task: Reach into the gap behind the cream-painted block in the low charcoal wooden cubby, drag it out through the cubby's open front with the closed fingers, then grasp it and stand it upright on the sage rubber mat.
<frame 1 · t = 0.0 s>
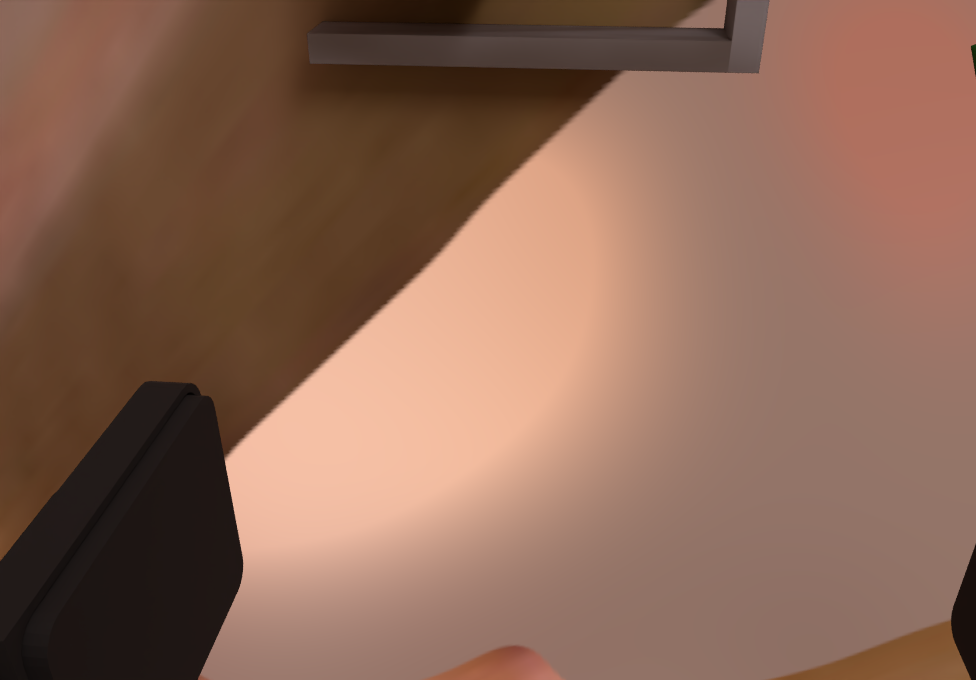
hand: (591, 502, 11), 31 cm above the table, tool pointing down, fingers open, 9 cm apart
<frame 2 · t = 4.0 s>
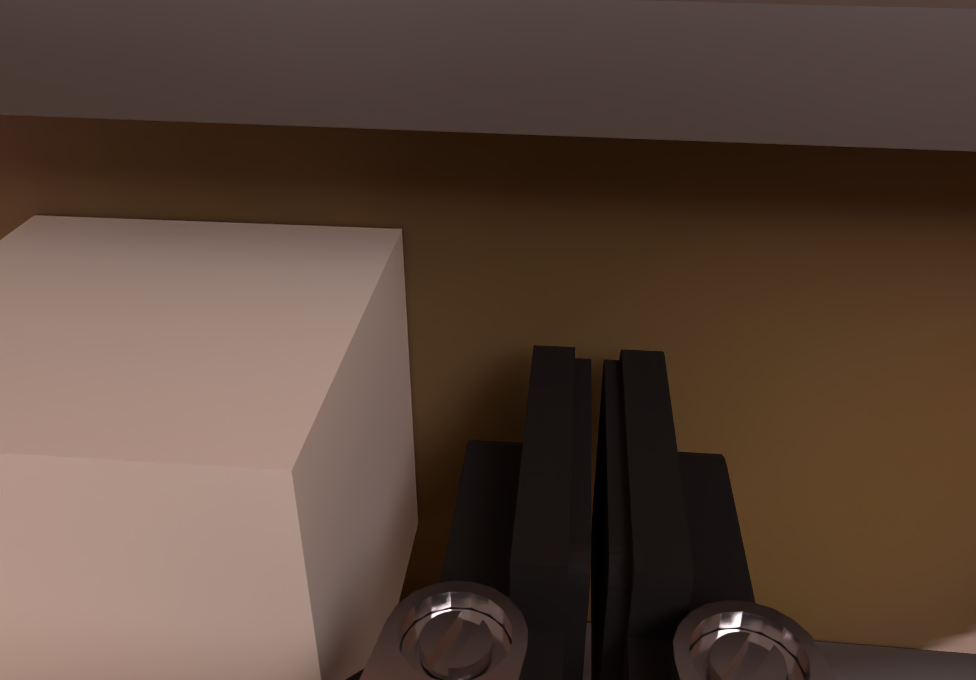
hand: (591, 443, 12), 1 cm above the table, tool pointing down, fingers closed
blank block: (241, 381, 13), on the table, touching gripper
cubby: (468, 388, 13), on the table
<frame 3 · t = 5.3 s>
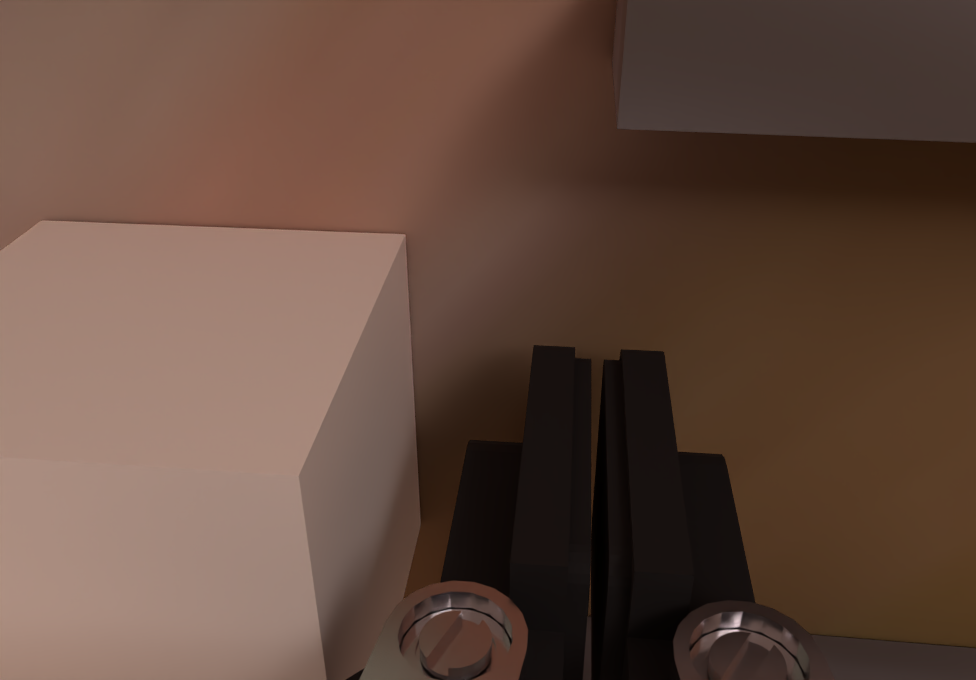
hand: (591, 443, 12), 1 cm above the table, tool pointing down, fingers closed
blank block: (246, 384, 13), on the table, touching gripper
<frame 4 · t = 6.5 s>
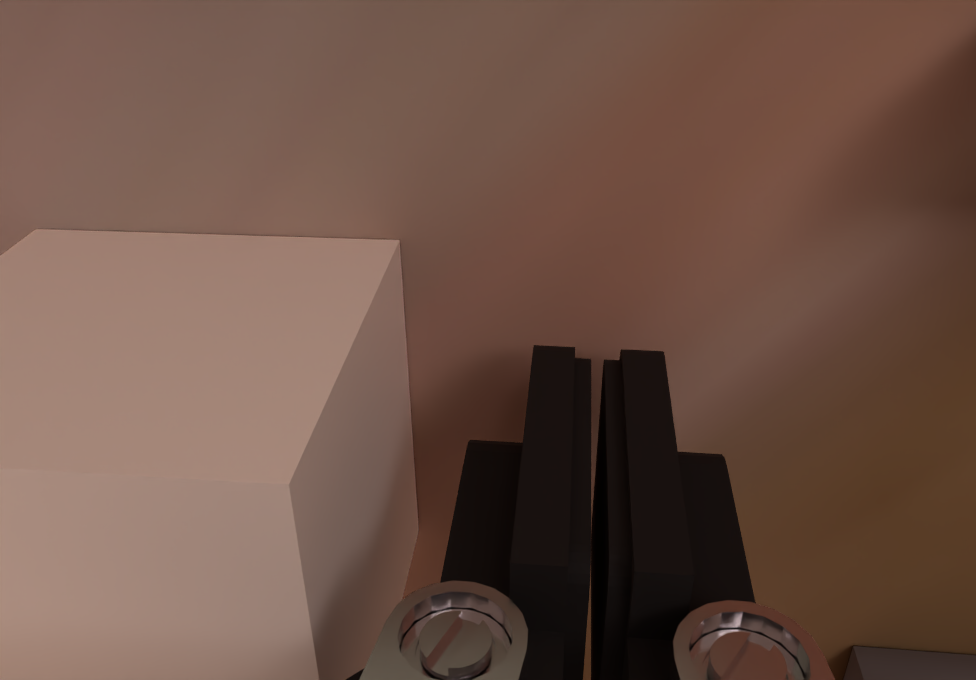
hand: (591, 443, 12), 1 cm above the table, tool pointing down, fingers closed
blank block: (242, 391, 13), on the table, touching gripper
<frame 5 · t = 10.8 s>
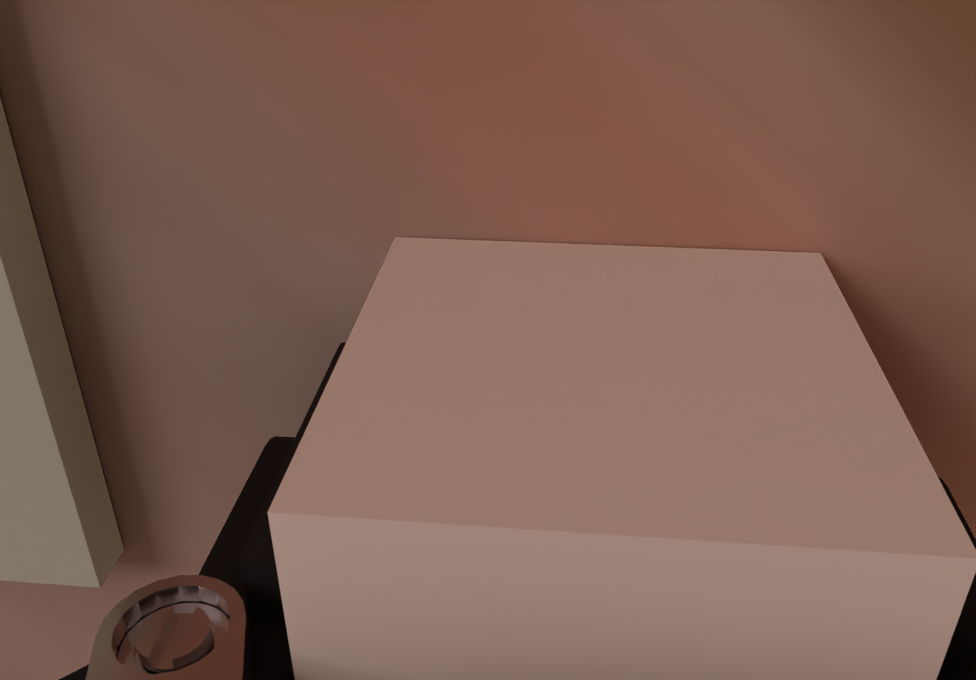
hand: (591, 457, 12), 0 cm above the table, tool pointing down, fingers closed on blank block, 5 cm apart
blank block: (592, 418, 12), on the table, touching gripper
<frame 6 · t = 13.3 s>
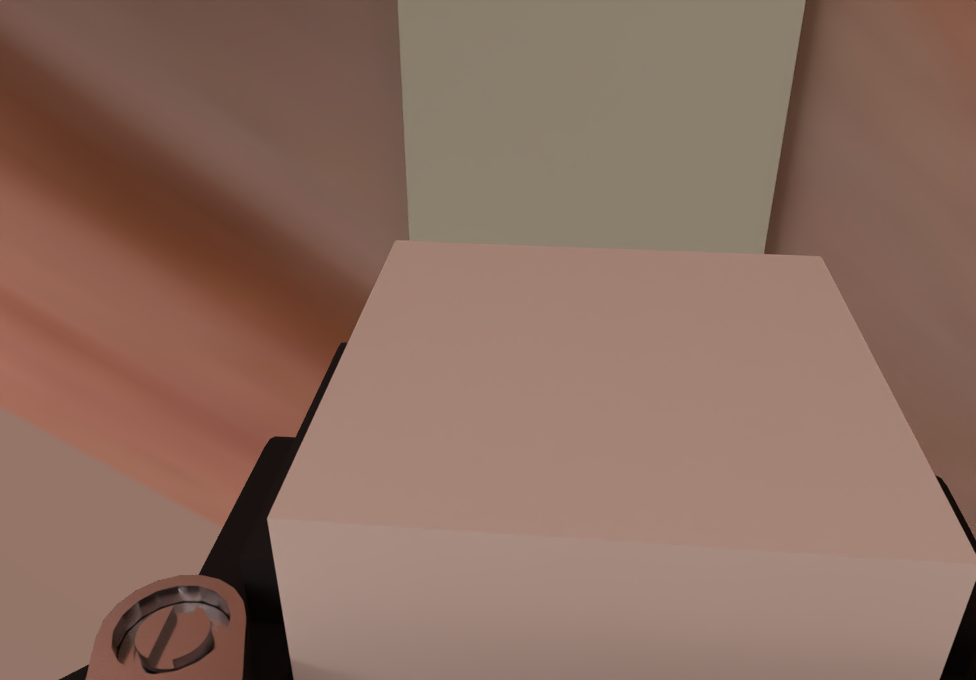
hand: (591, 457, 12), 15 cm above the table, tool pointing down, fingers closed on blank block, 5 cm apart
blank block: (592, 421, 12), point 15 cm above the table, touching gripper
mat: (590, 119, 25), on the table
when the fingers open (2 cm above the table, at t = 15.9 s): blank block drops 1 cm, resting on mat.
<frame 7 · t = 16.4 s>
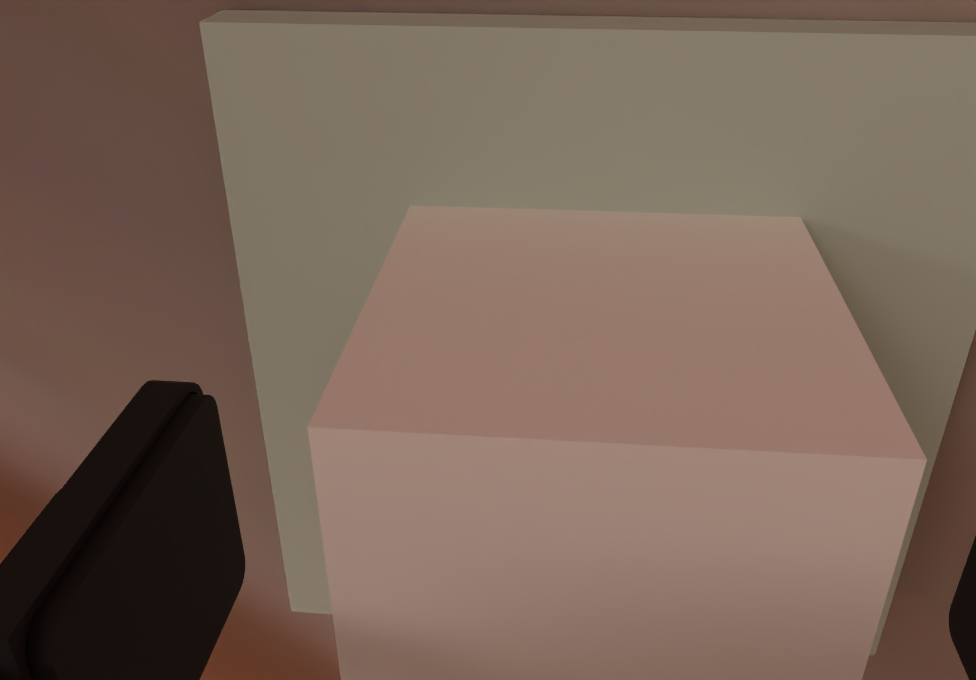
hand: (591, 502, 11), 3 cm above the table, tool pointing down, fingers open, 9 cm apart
blank block: (592, 375, 13), point 1 cm above the table, touching mat
mat: (591, 360, 14), on the table
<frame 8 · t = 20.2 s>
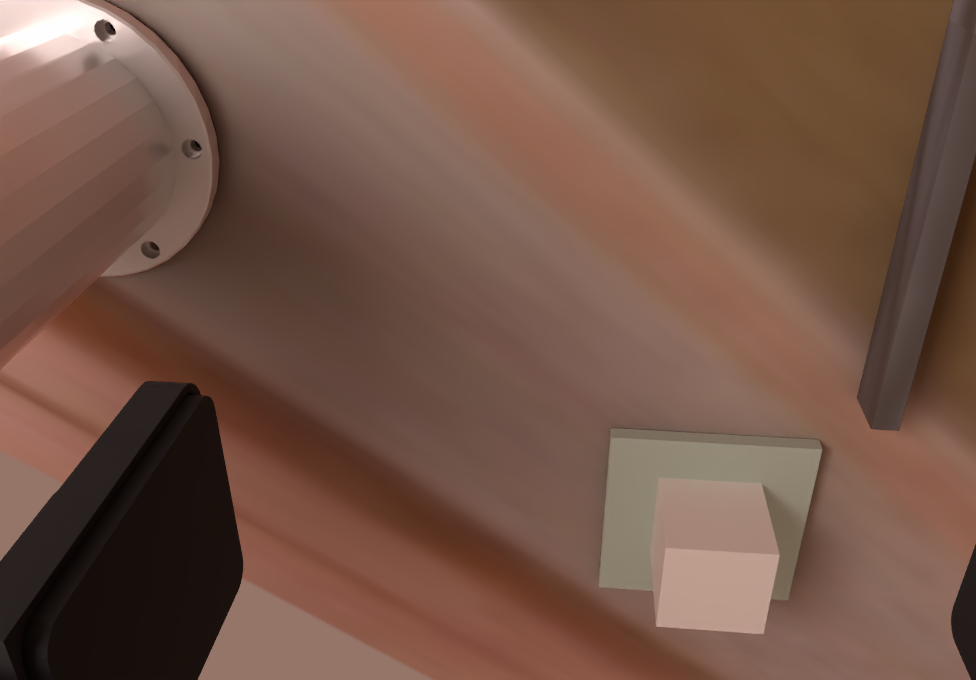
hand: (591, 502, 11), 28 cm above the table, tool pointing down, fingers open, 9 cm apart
blank block: (704, 519, 46), point 1 cm above the table, touching mat
mat: (701, 512, 47), on the table
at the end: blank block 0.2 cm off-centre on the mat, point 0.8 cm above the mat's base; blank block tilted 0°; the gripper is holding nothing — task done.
